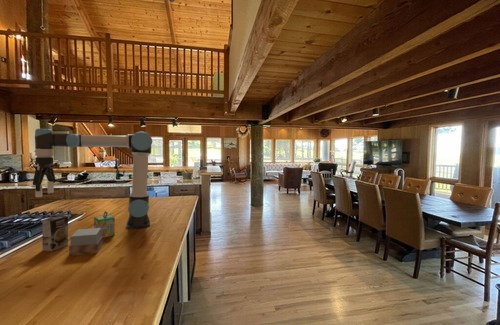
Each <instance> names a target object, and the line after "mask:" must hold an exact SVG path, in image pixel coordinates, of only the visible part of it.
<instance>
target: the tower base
mask: <svg viewBox="0 0 500 325" xmlns="http://www.w3.org/2000/svg"><path fill="white" fill-rule="evenodd" d="M103 244H104V238H103V236H101V238H100V240H99V241H98V242H97V244H92V245H81V246H71V245H69V247H68V249H69V250H68V255H69V256H68V257H75V256H84V255H93V253H94V254H98V253H99V251H100V249H101V248H102V246H103Z"/></svg>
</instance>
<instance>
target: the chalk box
mask: <svg viewBox="0 0 500 325" xmlns="http://www.w3.org/2000/svg"><path fill="white" fill-rule="evenodd" d="M115 223H116V221H115V216H113V215H112V214H108V211H106V210H105V211H104V212H103V215H99V216H94V217H93V228H101V236H103V239H104V238H109V237H114V236H115Z"/></svg>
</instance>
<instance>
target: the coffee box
mask: <svg viewBox="0 0 500 325" xmlns="http://www.w3.org/2000/svg"><path fill="white" fill-rule="evenodd" d="M41 230H42V232H41V233H42V236H41V237H42V244H41V245H42V248H41V249H42V251H45V252H54V251H57V250H59V249H61V248H65V247H67V246H69V216H68V215H56V216H52V217H49V218H45V219H42V229H41Z"/></svg>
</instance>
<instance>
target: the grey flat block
mask: <svg viewBox="0 0 500 325" xmlns="http://www.w3.org/2000/svg"><path fill="white" fill-rule="evenodd" d="M100 238H101V228H94V227H93V228H80V229H77V230H76V231H75V232H74V233H73V234H72V235H71V236H70V246H81V245H92V244H97V242H98V241H99V240H100Z"/></svg>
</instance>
